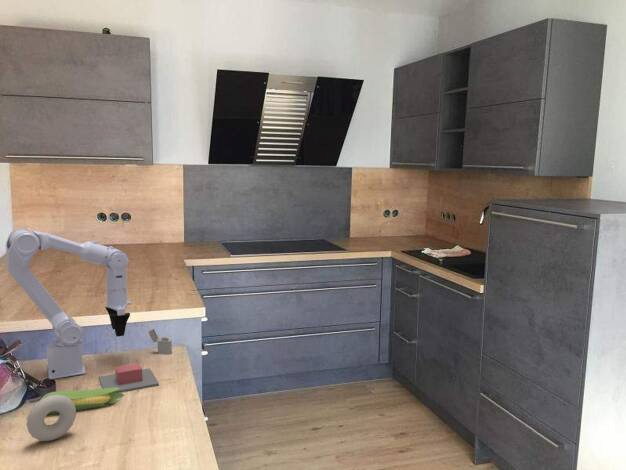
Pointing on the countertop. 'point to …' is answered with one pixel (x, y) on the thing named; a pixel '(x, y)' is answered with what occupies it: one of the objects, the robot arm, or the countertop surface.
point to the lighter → (161, 343)
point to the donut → (43, 408)
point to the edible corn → (89, 398)
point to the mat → (111, 382)
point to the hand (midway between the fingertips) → (118, 332)
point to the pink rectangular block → (128, 374)
